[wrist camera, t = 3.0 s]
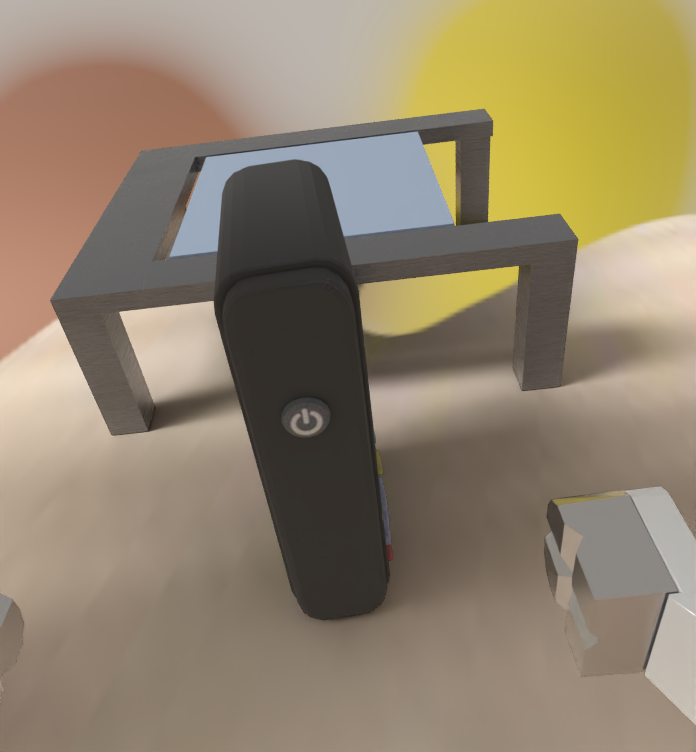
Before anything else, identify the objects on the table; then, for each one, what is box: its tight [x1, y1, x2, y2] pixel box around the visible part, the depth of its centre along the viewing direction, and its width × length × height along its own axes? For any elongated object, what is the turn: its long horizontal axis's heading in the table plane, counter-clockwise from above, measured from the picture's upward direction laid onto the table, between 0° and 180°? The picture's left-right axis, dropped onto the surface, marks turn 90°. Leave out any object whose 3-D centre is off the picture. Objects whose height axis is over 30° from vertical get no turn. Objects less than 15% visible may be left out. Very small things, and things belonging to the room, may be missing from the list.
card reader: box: [214, 159, 393, 620], centre depth 24 cm, size 9×4×15 cm, turn 7°
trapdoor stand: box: [50, 109, 578, 435], centre depth 40 cm, size 24×20×8 cm
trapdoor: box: [169, 131, 454, 259], centre depth 37 cm, size 14×14×1 cm
